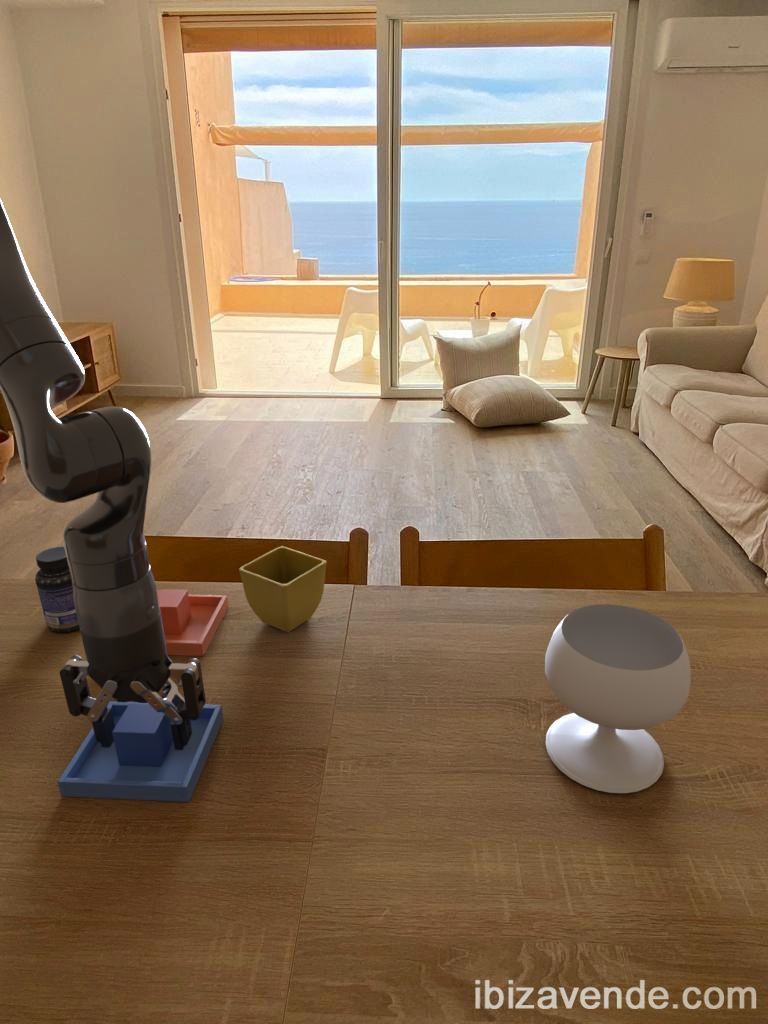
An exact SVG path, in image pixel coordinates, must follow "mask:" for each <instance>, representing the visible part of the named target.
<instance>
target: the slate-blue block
mask: <svg viewBox="0 0 768 1024" xmlns="http://www.w3.org/2000/svg"><path fill="white" fill-rule="evenodd" d="M170 724H171V721H170V720H169V719H168V718H167V717H166V716H165V715H164V713H163V712H157V711H156V710H155V709H154V708H153V707H152V706H151V705H150V704H129V705H128V707H127V708H126V710H125V712H124V713H123V715H122V717H121V718H120V720H119V722H118V723H117V725H116V726H115V728H114V730H113V731H112V734H113V739H114V743H115V748H116V752H117V757H118V761H119V765H125V766H151V767H161V765H162V763H163V761H164V759H165V757H166V755H167V753H168V751H169V749H170V747H171V745H172V743H173V736H172V731H171V725H170Z"/></svg>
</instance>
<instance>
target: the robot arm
mask: <svg viewBox="0 0 768 1024" xmlns="http://www.w3.org/2000/svg"><path fill="white" fill-rule="evenodd" d="M85 380H86V373H85V369H84V367H83V364H82V362H81V361H80V359H79V356H78V355H77V354H76V352H75V350H74V348H73V346H72V345H71V343H70V342H69V340H68V338H67V337H66V335H65V333H64V332H63V330H62V329H61V327H60V326H59V324H58V321H57V320H56V318H55V317H54V315H53V313H52V312H51V310H50V308H49V307H48V305H47V304H46V302H45V300H44V297H43V296H42V294H41V293H40V291H39V289H38V287H37V285H36V283H35V281H34V278H33V277H32V275H31V272H30V270H29V268H28V266H27V262H26V260H25V258H24V255H23V253H22V251H21V248H20V245H19V243H18V241H17V238H16V235H15V232H14V230H13V227H12V225H11V221H10V220H9V217H8V214H7V212H6V209H5V208H4V205H3V202H2V200H1V199H0V392H1V394H2V397H3V399H4V402H5V404H6V405H5V406H6V408H7V410H8V415H9V417H10V420H11V424H12V427H13V431H14V435H15V439H16V444H17V445H16V446H17V450H18V455H19V460H20V465H21V467H22V471H23V474H24V476H25V477H24V478H25V479H26V481H27V483H28V484H29V485H30V487H31V488H32V489H33V490H34V491H35V492H36V493H37V494H38V495H40V496H41V497H43V498H44V499H47V500H48V501H50V502H54V503H57V504H66V503H71V502H74V501H77V500H80V499H84V498H87V497H89V496H92V495H95V494H97V495H96V498H95V499H94V500H93V502H92V503H91V504H90V505H89V506H88V507H86V508H85V509H84V510H82V511H81V512H79V513H77V515H75V516H73V517H72V518H71V519H69V520H68V522H67V523H66V524H65V525H64V527H63V530H62V543H63V547H64V549H65V553H66V557H67V562H68V566H69V571H70V575H71V579H72V585H73V598H74V606H75V611H76V616H77V619H78V623H79V628H80V629H79V631H80V632H79V633H80V636H81V640H82V645H83V648H84V654H85V658H86V660H83V658H82V656H80V655H77V654H74V655H71V657H70V658H69V659H68V660H67V661H66V662H65V664H64V665H63V667H62V668H61V669H60V670H59V677H60V681H61V685H62V690H63V692H64V697H65V701H66V705H67V709H68V712H69V714H70V715H71V716H73V717H79V716H80V715H82V716H85V717H86V718H87V720H89V721H90V722H91V726H92V728H93V730H94V734H95V738H96V740H97V741H98V742H101V746H102V747H103V748H110V746H111V745H112V743H113V741H114V739H113V734H112V731H113V730H114V728H115V723H114V719H113V714H112V710H111V708H107V705H108V704H109V702H110V701H111V700H112V699H114V700H116V702H138V703H149V704H150V705H151V706H152V707H153V708H154V709H155V710H156V711H157V712H163V713H164V715H165V716H166V717H167V718H168V719H169V720H170V721H171V724H170V725H171V731H172V736H173V742H174V748H175V750H183V748H184V746H185V745H187V744H188V742H189V739H190V737H191V735H192V729H191V722H190V720H197V719H198V718H199V715H200V713H201V711H202V709H203V707H204V705H206V702H207V700H206V693H205V686H204V680H203V671H202V665H201V661H200V660H199V659H198V658H195V657H193V658H190V659H189V660H188V662H187V663H173V661H172V659H171V658H170V656H169V655H167V653H166V641H165V635H164V629H163V623H162V617H161V611H160V606H159V600H158V594H157V590H158V588H157V584H156V580H155V578H154V574H153V572H152V569H151V564H150V558H149V552H148V547H147V541H146V535H145V519H146V512H147V506H148V505H147V502H148V495H149V488H150V479H151V473H152V447H151V442H150V439H149V435H148V433H147V431H146V428H145V427H144V425H143V424H142V422H141V421H140V419H139V418H138V417H137V416H136V415H135V414H134V413H133V412H132V411H130V410H128V409H127V408H124V407H121V406H115V405H112V406H110V405H109V406H104V407H100V408H96V409H92V410H88V411H83V412H80V413H76V414H71V415H68V416H64V417H58V418H57V417H56V415H55V414H54V413H53V411H52V409H55V408H56V407H58V406H60V405H62V404H63V403H64V404H65V402H67V401H68V400H70V399H71V398H73V397H74V396H76V395H77V394H78V393H79V391H81V390H82V388H83V386H84V384H85ZM87 677H89V678H91V680H92V681H93V682H94V683H96V685H98V687H100V688H101V690H100V692H99V693H98V695H97V697H96V698H94V697H92V696H91V690H90V687H89V681H88V678H87ZM171 677H172V678H175V680H176V682H177V684H176V682H174V680H173V679H172V678H171ZM179 688H182V692H183V695H182V693H180V691H179ZM161 690H162V694H161V695H160V694H159V693H160V692H161ZM173 704H174V706H175V707H176V708H175V707H174V706H173Z"/></svg>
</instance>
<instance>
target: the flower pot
mask: <svg viewBox="0 0 768 1024" xmlns="http://www.w3.org/2000/svg"><path fill="white" fill-rule="evenodd" d="M238 571H239V575H240V580H241V583H242V588H243V592H244V594H245V598H246V601H247V603H248V605H249V607H250V608H251V610H252V611H253V612H254V613H253V614H255V615H256V616H257V617H258V619H259V620H260V621H261V622H262V623H264V624H267V625H269V626H271V627H273V628H277V629H278V630H281V631H283V632H285V633H290V632H291V631H293V630H294V629H296V628H297V627H299V626H300V625H302V624H303V623H305V622H306V621H309V620H310V619H311V618H312V616H314V614H315V612H316V611H317V609H318V607H319V606H320V603H321V601H322V598H323V595H324V590H325V581H326V573H327V572H326V571H327V560H325V559H322V558H319V557H316V556H313V555H310V554H308V553H306V552H305V553H304V552H302V551H298V550H295V549H292V548H289V547H286V546H283V545H281V546H279V547H276V548H274V549H272V550H270V551H268V552H266V553H264V554H263V555H261V556H259V557H257V558H255V559H253V560H252V561H250V562H247V563H245V564H243V565H242V566H240V568H238Z"/></svg>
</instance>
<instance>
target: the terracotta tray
mask: <svg viewBox="0 0 768 1024" xmlns="http://www.w3.org/2000/svg"><path fill="white" fill-rule="evenodd" d="M188 598H189V605H190V611H191V619H190V620H189V622H188V624H187V626H186V627H185V629H184V631H183V633H182V634H181V635H165V641H166V653H167V655H168V656H186V657H187V656H189V657H204V656H205V654H206V652H207V650H208V648H209V646H210V644H211V642H212V640H213V638H214V636H215V634H216V632H217V630H218V629H219V627H220V624H221V622H222V621H223V618H224V616H225V615H226V613H227V611H228V608H229V601H228V595H227V594H189V593H188Z"/></svg>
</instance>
